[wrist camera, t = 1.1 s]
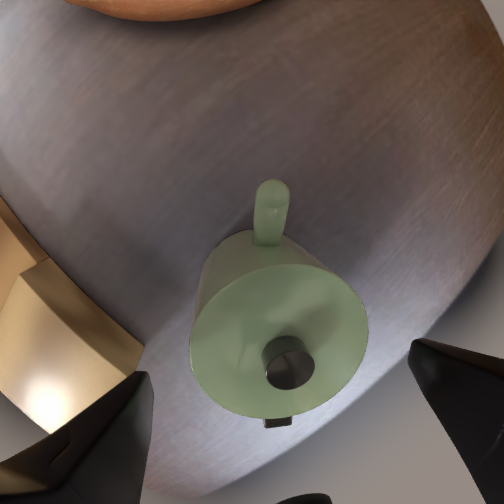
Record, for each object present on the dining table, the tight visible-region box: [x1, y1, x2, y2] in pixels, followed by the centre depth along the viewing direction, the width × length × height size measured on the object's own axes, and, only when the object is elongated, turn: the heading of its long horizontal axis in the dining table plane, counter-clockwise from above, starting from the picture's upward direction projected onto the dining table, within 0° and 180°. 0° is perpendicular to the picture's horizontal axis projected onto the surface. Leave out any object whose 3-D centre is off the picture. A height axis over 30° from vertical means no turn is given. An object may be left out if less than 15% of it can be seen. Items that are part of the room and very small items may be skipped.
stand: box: [0, 196, 144, 434], centre depth 13 cm, size 16×10×4 cm, turn 44°
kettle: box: [189, 179, 369, 428], centre depth 12 cm, size 10×6×8 cm, turn 1°
